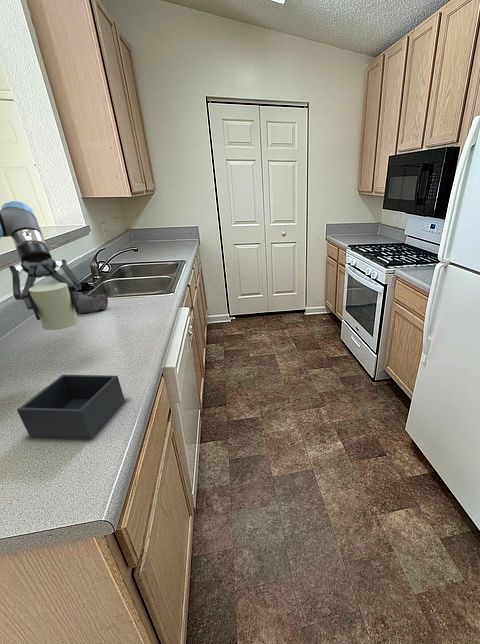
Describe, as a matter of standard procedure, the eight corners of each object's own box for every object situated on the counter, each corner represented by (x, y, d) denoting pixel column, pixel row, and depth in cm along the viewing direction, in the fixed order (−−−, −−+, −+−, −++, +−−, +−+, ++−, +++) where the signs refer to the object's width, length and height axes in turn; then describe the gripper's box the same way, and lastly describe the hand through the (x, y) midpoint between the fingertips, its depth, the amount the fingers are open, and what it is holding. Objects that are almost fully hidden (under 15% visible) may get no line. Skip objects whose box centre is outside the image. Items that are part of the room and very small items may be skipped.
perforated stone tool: (72, 316, 144) (67, 301, 141) (72, 312, 148) (67, 298, 145) (110, 310, 151) (106, 295, 148) (110, 307, 155) (106, 292, 152)
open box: (30, 437, 76) (16, 409, 72) (72, 399, 89) (62, 374, 85) (91, 439, 75) (80, 411, 72) (125, 401, 88) (117, 375, 85)
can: (84, 317, 104) (72, 280, 99) (71, 328, 96) (58, 288, 91) (51, 319, 103) (38, 281, 97) (36, 331, 95) (20, 290, 89)
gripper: (-19, 245, 90) (7, 316, 86) (73, 237, 102) (99, 299, 99) (-11, 262, 96) (13, 329, 92) (75, 252, 108) (100, 311, 105)
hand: (58, 313), depth 95 cm, fingers closed on can, 9 cm apart
